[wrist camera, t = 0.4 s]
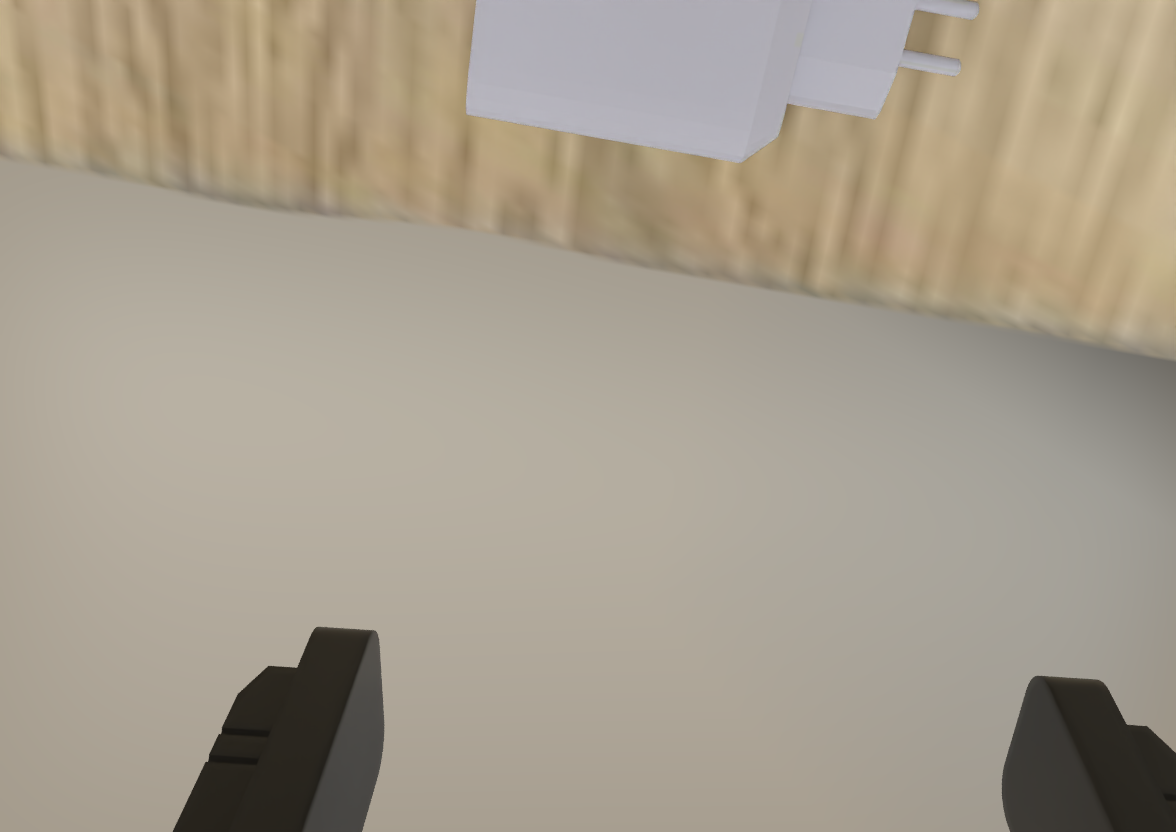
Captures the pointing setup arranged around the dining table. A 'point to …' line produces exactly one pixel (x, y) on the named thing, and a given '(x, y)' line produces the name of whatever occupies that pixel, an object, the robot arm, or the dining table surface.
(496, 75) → the charger
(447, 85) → the dining table surface
